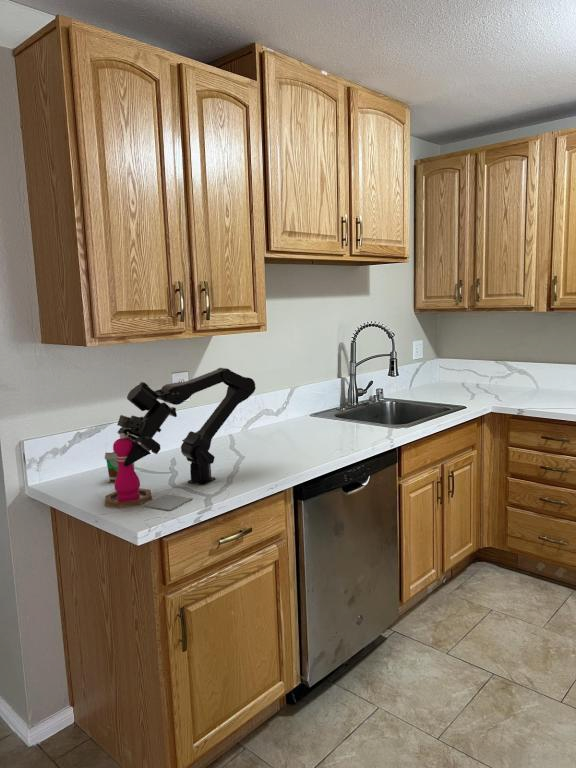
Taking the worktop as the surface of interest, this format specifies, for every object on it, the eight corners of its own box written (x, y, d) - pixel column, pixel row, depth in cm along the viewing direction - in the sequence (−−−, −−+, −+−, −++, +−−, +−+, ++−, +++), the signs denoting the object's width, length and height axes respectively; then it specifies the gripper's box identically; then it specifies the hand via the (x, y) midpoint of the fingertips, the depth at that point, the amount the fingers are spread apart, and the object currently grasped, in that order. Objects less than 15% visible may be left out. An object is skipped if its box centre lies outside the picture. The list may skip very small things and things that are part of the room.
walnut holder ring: (127, 490, 183) (127, 486, 183) (160, 495, 177) (160, 491, 176) (95, 504, 172) (95, 500, 171) (129, 510, 165) (129, 505, 165)
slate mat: (165, 495, 176) (165, 494, 176) (192, 499, 172) (192, 498, 171) (142, 506, 168) (142, 505, 168) (170, 511, 163) (170, 509, 163)
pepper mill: (122, 505, 169) (115, 437, 166) (112, 499, 175) (105, 433, 172) (145, 499, 173) (139, 432, 170) (135, 493, 179) (129, 428, 176)
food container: (122, 484, 189) (120, 454, 187) (107, 483, 191) (104, 453, 190) (145, 473, 200) (143, 444, 199) (130, 472, 202) (127, 443, 201)
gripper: (121, 400, 180) (88, 443, 175) (146, 408, 165) (111, 454, 160) (147, 421, 185) (116, 463, 181) (174, 431, 171) (141, 476, 166)
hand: (120, 464), depth 172 cm, fingers closed on pepper mill, 5 cm apart
